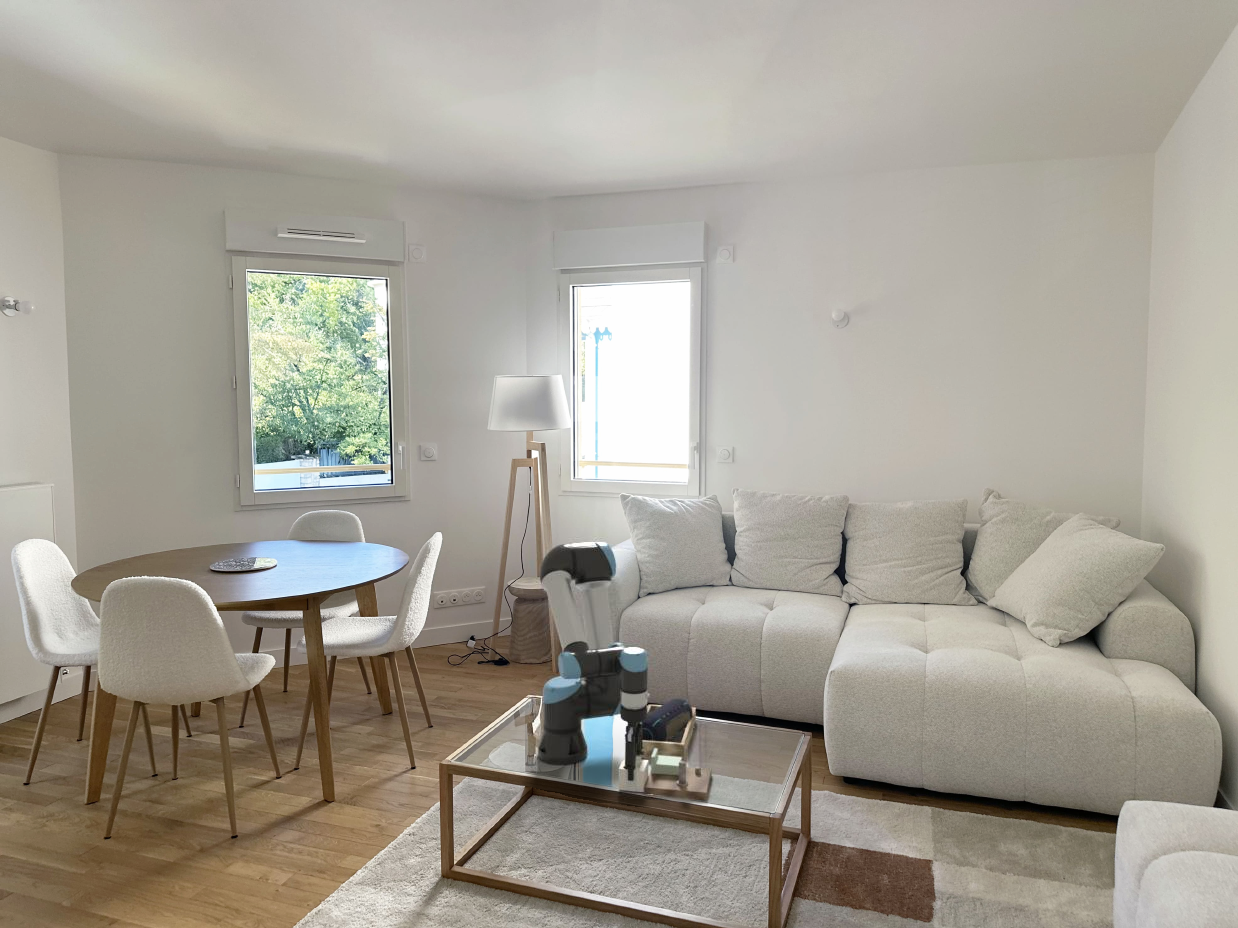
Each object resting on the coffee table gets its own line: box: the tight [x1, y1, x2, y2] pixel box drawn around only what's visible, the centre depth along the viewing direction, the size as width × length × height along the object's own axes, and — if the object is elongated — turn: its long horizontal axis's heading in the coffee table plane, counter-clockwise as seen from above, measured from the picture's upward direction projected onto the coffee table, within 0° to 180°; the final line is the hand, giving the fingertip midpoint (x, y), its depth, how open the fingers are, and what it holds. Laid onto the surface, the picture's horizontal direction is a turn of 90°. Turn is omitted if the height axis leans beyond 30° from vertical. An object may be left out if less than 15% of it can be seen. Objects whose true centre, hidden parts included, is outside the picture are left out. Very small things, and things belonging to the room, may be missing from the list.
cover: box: [650, 748, 682, 776], centre depth 241 cm, size 8×6×5 cm
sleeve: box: [618, 757, 649, 793], centre depth 235 cm, size 7×7×6 cm
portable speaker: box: [642, 698, 693, 742], centre depth 268 cm, size 25×10×10 cm, turn 146°
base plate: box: [643, 760, 712, 801], centre depth 236 cm, size 17×15×8 cm
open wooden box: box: [640, 704, 697, 762], centre depth 269 cm, size 16×31×5 cm, turn 168°
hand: (633, 783), depth 235 cm, fingers closed on sleeve, 7 cm apart
